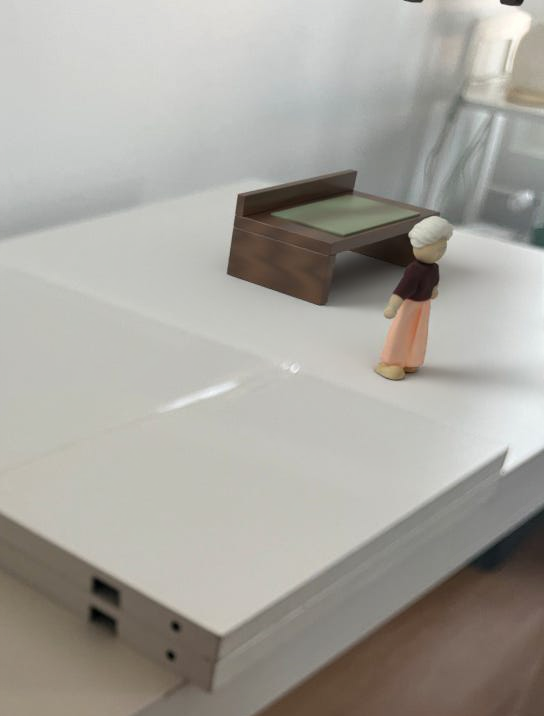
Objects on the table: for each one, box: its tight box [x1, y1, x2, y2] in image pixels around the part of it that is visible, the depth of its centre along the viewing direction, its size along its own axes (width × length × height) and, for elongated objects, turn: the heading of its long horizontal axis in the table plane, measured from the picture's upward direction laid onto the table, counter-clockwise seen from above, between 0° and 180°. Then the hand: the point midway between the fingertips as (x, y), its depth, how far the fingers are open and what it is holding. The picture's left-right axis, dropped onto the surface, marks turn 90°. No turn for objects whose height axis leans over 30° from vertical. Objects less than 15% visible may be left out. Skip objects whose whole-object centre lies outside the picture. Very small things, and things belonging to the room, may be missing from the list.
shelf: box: [226, 168, 441, 306], centre depth 109 cm, size 12×20×8 cm, turn 133°
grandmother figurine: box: [373, 216, 454, 381], centre depth 86 cm, size 8×4×13 cm, turn 147°
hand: (461, 3), depth 79 cm, fingers open, 8 cm apart
